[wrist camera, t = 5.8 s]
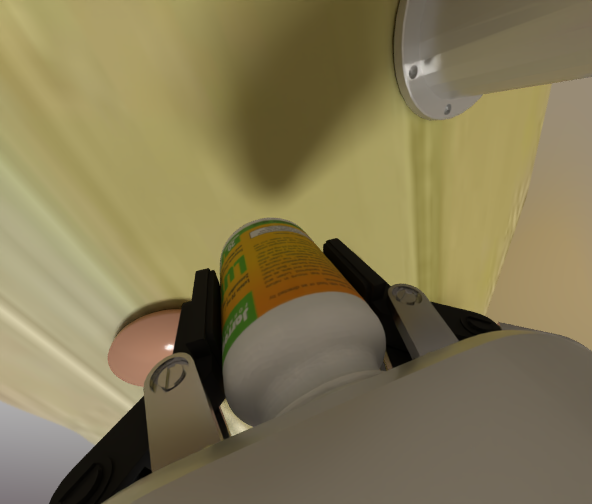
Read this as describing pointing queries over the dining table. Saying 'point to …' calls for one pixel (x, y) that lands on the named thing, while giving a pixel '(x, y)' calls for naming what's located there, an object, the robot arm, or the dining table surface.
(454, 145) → the dining table surface
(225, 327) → the supplement bottle
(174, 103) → the dining table surface
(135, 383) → the tan flat disc
